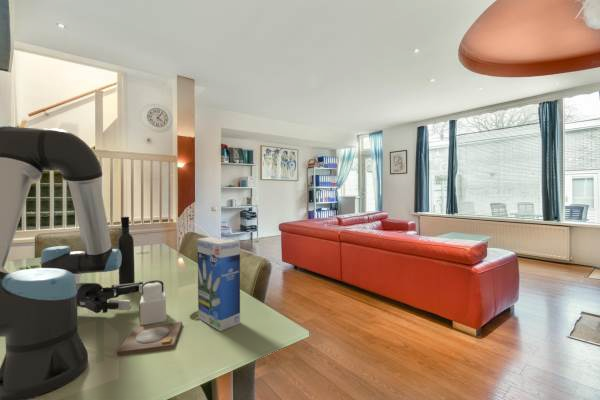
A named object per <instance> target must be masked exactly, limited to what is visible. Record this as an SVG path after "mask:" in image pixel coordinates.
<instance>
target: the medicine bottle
mask: <svg viewBox="0 0 600 400" xmlns="http://www.w3.org/2000/svg"><path fill="white" fill-rule="evenodd" d="M164 289H165V288H164V282H163V281H162V280H159V279H158V280H155V279H154V280H149V281H146V282H145V283H144V282H143V285H142V293H141V297H140V300H139V304H138V305H139V308H138V309H139V327H140V326H148V325H155V324H158V323H159V324H160V323H164V322H166V320H167V292H165V290H164Z"/></svg>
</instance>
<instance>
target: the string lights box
mask: <svg viewBox="0 0 600 400" xmlns="http://www.w3.org/2000/svg"><path fill="white" fill-rule="evenodd" d="M196 240H197V298H198V299H197V301H198V302H197V305H198V306H197V307H198V308H197V310H198V311H197V312H198V315H197V316H198V319H199V320H201V321H203V322H204V323H206V324H208V325H209V326H210V327H213V328H214V329H216V331H219V332H222V331H225V330H227V329H230V328H232V327H235V326H237V325H240V323H241V241H240V240H234V239H231V238H227V237H220V236H217V235H216V236H209V237H200V238H197V239H196Z"/></svg>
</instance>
